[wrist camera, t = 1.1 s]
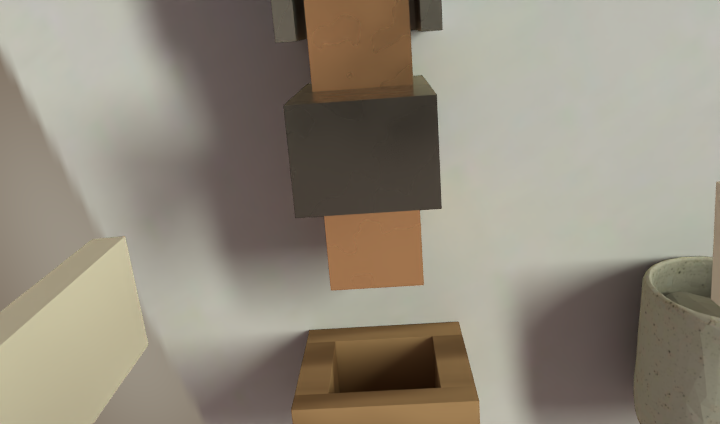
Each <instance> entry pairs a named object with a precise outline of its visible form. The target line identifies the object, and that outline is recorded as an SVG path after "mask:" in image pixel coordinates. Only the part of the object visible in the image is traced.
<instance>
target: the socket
mask: <svg viewBox="0 0 720 424" xmlns="http://www.w3.org/2000/svg"><path fill="white" fill-rule="evenodd" d="M291 413H292V421H293V424H480V413H479V398H478V395H477V391H476V387H475V383H474V379H473V375H472V371H471V368H470V364H469V360H468V356H467V352H466V348H465V344H464V341H463V337H462V333H461V329H460V325H459V322H446V323H428V324H410V325H392V326H374V327H356V328H339V329H321V330H309V334H308V339H307V343H306V347H305V352H304V356H303V361H302V365H301V369H300V374H299V378H298V383H297V387H296V392H295V396H294V400H293V405H292V409H291Z"/></svg>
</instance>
